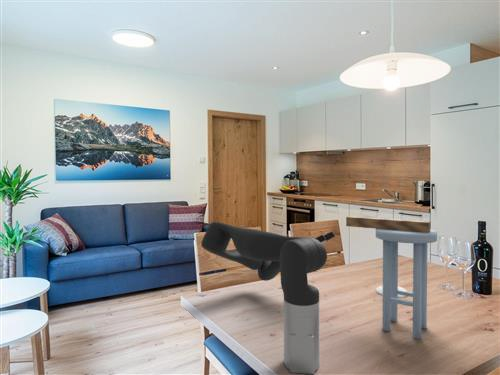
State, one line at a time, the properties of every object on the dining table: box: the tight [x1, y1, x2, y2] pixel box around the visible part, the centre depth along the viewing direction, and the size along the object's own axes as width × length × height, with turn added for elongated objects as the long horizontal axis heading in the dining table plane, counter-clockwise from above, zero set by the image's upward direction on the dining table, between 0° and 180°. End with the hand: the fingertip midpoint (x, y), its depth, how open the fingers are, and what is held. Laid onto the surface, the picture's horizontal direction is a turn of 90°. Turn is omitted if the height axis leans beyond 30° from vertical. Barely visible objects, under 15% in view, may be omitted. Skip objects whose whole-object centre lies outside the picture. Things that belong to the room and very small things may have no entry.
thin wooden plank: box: [345, 215, 431, 233], centre depth 114 cm, size 26×3×3 cm, turn 53°
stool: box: [375, 228, 438, 340], centre depth 111 cm, size 18×18×32 cm
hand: (329, 235), depth 126 cm, fingers open, 8 cm apart
